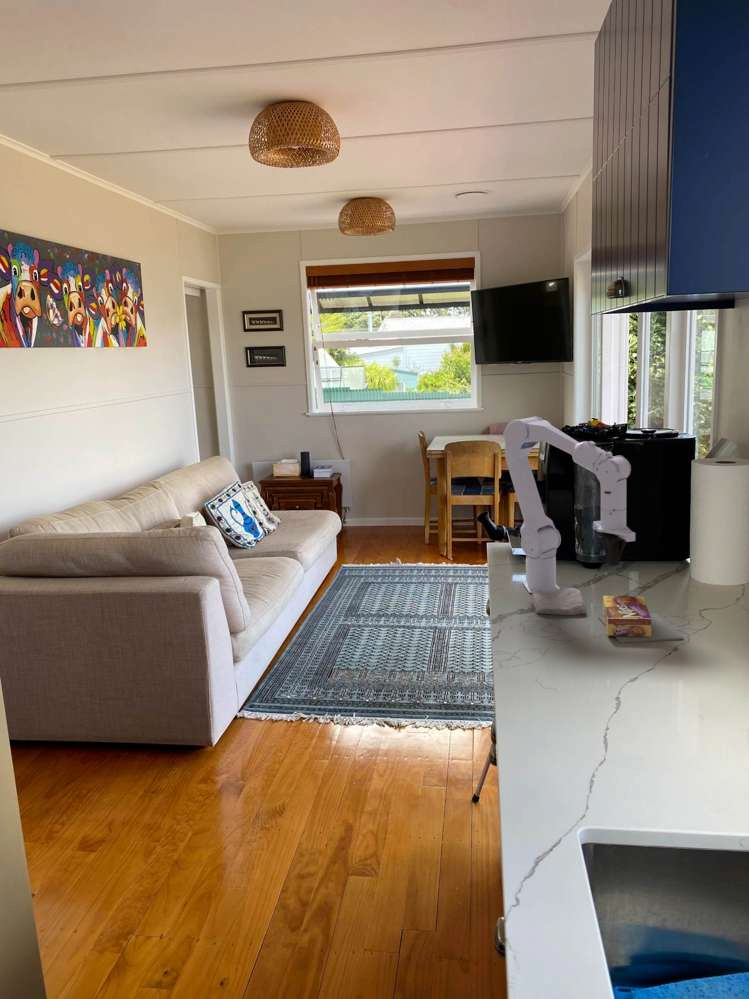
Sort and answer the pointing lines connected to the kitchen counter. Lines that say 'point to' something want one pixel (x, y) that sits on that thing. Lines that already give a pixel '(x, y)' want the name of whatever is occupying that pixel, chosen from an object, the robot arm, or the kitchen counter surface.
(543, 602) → the stone block
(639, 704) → the kitchen counter surface
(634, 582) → the kitchen counter surface
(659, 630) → the mat
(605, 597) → the candy box
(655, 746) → the kitchen counter surface
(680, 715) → the kitchen counter surface
